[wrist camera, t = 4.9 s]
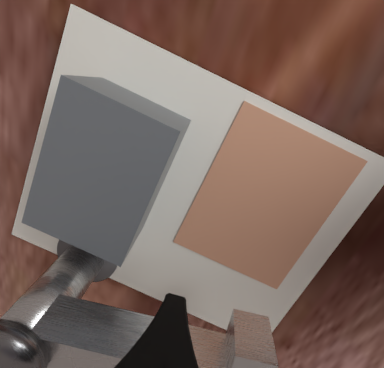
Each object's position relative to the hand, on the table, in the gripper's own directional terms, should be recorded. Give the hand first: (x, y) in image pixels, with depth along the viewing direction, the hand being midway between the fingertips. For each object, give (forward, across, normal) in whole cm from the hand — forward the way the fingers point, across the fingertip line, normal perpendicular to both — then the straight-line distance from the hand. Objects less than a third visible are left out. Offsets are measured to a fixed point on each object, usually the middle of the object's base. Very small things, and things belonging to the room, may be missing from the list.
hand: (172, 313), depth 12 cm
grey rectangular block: (+6, +5, -4) cm, 8 cm away
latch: (+5, +2, +2) cm, 6 cm away
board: (+6, +1, -2) cm, 7 cm away
